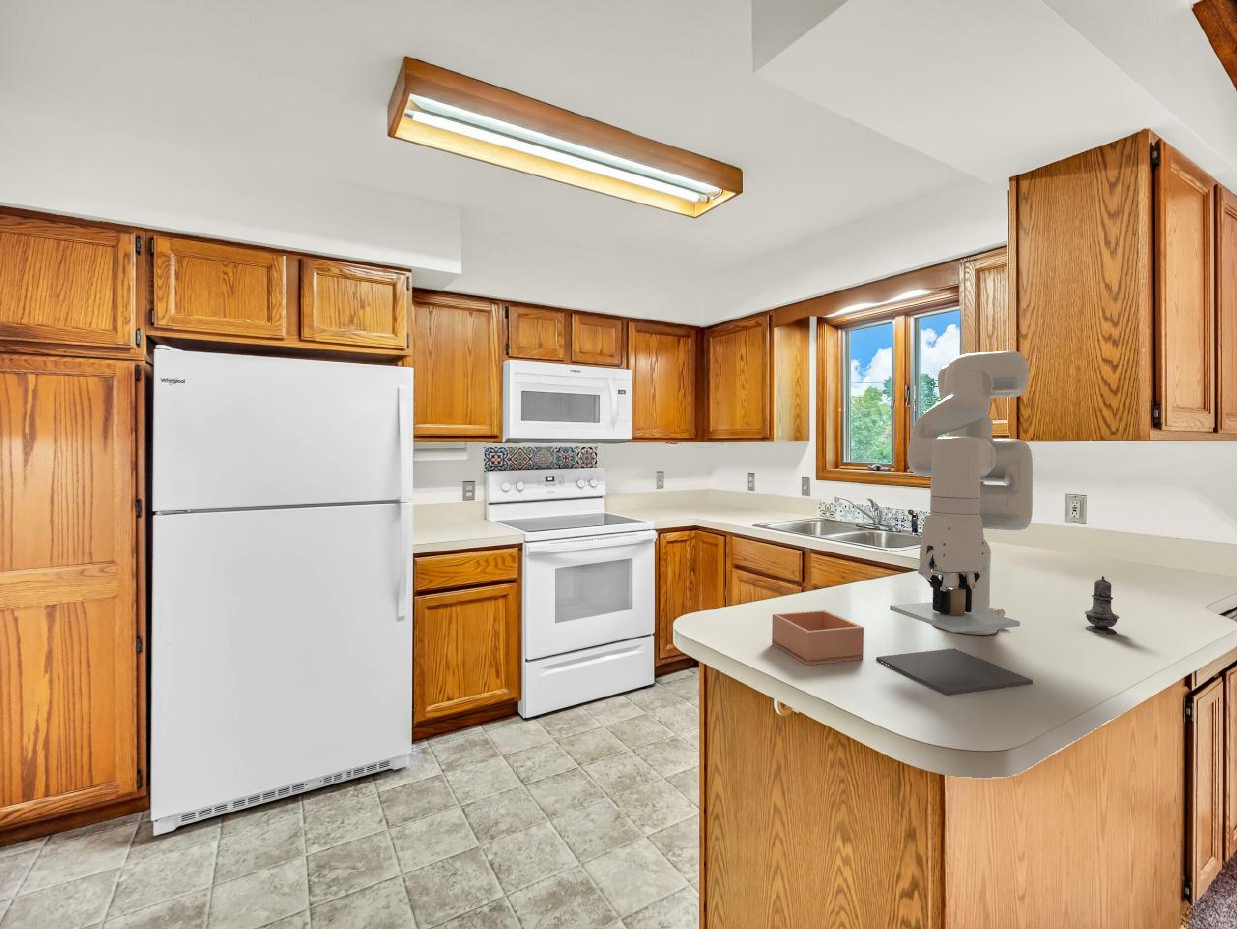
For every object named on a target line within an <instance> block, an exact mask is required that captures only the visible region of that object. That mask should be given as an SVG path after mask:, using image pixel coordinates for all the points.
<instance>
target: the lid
mask: <svg viewBox="0 0 1237 929" xmlns="http://www.w3.org/2000/svg"><path fill="white" fill-rule="evenodd" d="M947 591H950V613H949V614H944V613H941V612H938V611H935V610H933V601H932V602H920V603H919V602H918V603H906V604H893V605H890V606H889V609H890V611H893V612H895V613H898V614H900V615H903V616H905V617H909V618H911V619H914V620H917V621H921V622H922V623H926V624H928V625H931V626H934V627H937V628H939V629H942V630H945V631H948V632H951V633H957V632H964V631H975V630H986V629H997V630H998V629H1005V628H1017V627H1018V628H1019V627H1021V621H1019V620H1016V619H1013V618H1008V617H1005V616H999V615H996V614H993V613H989V612H986V611H983V610H979V609H976V608H973V607H972V611H971V612H965V608H966V589H964V588H961V587H956V586H948V589H947Z"/></svg>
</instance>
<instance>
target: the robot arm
mask: <svg viewBox="0 0 1237 929" xmlns="http://www.w3.org/2000/svg"><path fill="white" fill-rule="evenodd" d="M1029 378H1030V368H1029V362H1028V359H1027V358H1026V356H1025V355H1024V354H1023V353H1022V352H1019V351H1016V350H1001V351H1000V350H999V351H987V352H984V351H983V352H973V353H965V354H961V355H959V356H956V357H954V358H953V359H952V360H951V361H950V362H949V363H948V364H947V365H945V366H943V367H942V368H941V369H940V370H939V372H938V375H937V388H938V394H939V398H940V401H939V402H937V403H936V404H934V405H933V406H931V407H930V408H928V409H927V410H926V411H925V412H923V413H922V414H921V415H920V416H919V417H918V418H917V420H916V421H915V422H914V424H913V426H912V430H911V434H910V438H909V442H908V448H907V449H908V450H907V464H908V467H909V469H910V471H911V472H912V473H913V474H916V475H918V476H921V477H922V476H923V477H930V493H929V494H930V496H929V497H930V501H929V502H930V503H929V505H930V506H929V507H930V508H929V513H927V514H926V516H925V518H924V522H923V526H922V532H921V538H920V551H919V568H918V570H917V573H918V575H920V576H921V577H923V578H924V579H925V580H926V581H927V583H928V584H929V587H930V588H931V589H932V602H933V610H935V611H938V612H941V613H944V614H949V613H950V591H947V589H948V586H956V587H961V588H964V589H966V608H965V612H971V611H972V607H973V608H976V609H979V610H983V611H986V612H989V613H993V614H996V615H999V616H1003V617H1005V616H1006V611H1005V609H1004V608H1003V607H997V608H993V607H992V606H991V605H990V601H991V600H990V599H991V598H990V597H991V596H990V595H991V568H992V567H991V562H992V561H991V560H992V555H991V554H992V552H991V547H990V545H989V544H988V542H987V540H986V539H985V537H984V535H985V534H984V529H989V530H1003V531H1022V530H1025V529H1027V528H1029V526H1030V525H1031V523H1032V519H1033V512H1034V509H1033V508H1034V501H1033V500H1034V487H1033V486H1034V462H1033V460H1034V459H1033V458H1034V457H1033V454H1032V450H1031V447H1030V445H1029V444H1028V442H1026V441H1025V440H1021V439H1017V438H993V426H994V424H993V419H992V417H991V416H990V415H989V412H990V407H991V399H998V398H999V399H1003V398H1018V397H1021V396H1022V395H1024V393H1025V392H1026V390H1027V387H1028V385H1029ZM945 434H948V436H942V435H945ZM981 482H987V483H989V482H992V483H1004V484H985V483H981ZM997 632H998V628H997V629H986V630H975V631H964V632H956V633H958V634H965V635H973V636H974V635H975V636H976V635H977V636H985V635H986V636H987V635H994V634H996V633H997Z"/></svg>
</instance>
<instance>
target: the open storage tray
mask: <svg viewBox="0 0 1237 929" xmlns="http://www.w3.org/2000/svg"><path fill="white" fill-rule="evenodd" d="M771 628H772V633H771V634H772V635H771V640H772V641H771V644H772V645H773V646H775V647H776V648H778V649H779V650H781V651H783V652H785V653H786V654H788V655H789V656H791V657H793V658H794V659H795V660H797V661H799V662H800V663H802V664H804V665H806V666H809V667H810V666H816V664H818V665H823V663H826V664H830V663H829V662H835V663H844V662H852V661H851V660H853V661H859V660H860V661H861V659H862V660H864V657H865V656H864V653H865V652H864V650H865V649H864V648H865V647H864V646H865V627H864V626H862V625H859V624H857V623H855V622H852V621H850V620H848V619H845V618H843V617H842V616H839V615H837V614H835V613H832V612H829V611H827V610H825V609H823V610H822V609H821V610H820V609H819V610H808V611H798V612H797V611H796V612H785V613H773V614H772V627H771ZM843 661H844V662H843Z"/></svg>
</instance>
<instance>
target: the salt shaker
mask: <svg viewBox="0 0 1237 929" xmlns="http://www.w3.org/2000/svg"><path fill="white" fill-rule="evenodd" d="M1091 597H1092V598H1093V601H1092V603H1093V604H1092V607H1091V609H1090V610H1086V611H1084V614H1085V618H1086V620H1087V621H1088V622H1089V623H1090V624H1091V625H1088V626H1086V627H1085V629H1086V630H1087V631H1089V632H1092V633H1095V634H1101V635H1118V632H1117V631H1116V630H1115V629H1113V628H1112V627H1115V626H1116V625H1117V623H1118V620H1119V619H1120V618H1121V617H1120V616H1119V615H1117V614H1116V613H1114V612H1113V610H1112V600H1114V598H1113V597H1112V583H1111V582H1110V581H1108V580H1106V579H1105V576H1104V575H1102V576H1101V579H1097V580H1095V581H1094V584H1093V594H1092V595H1091Z"/></svg>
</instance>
